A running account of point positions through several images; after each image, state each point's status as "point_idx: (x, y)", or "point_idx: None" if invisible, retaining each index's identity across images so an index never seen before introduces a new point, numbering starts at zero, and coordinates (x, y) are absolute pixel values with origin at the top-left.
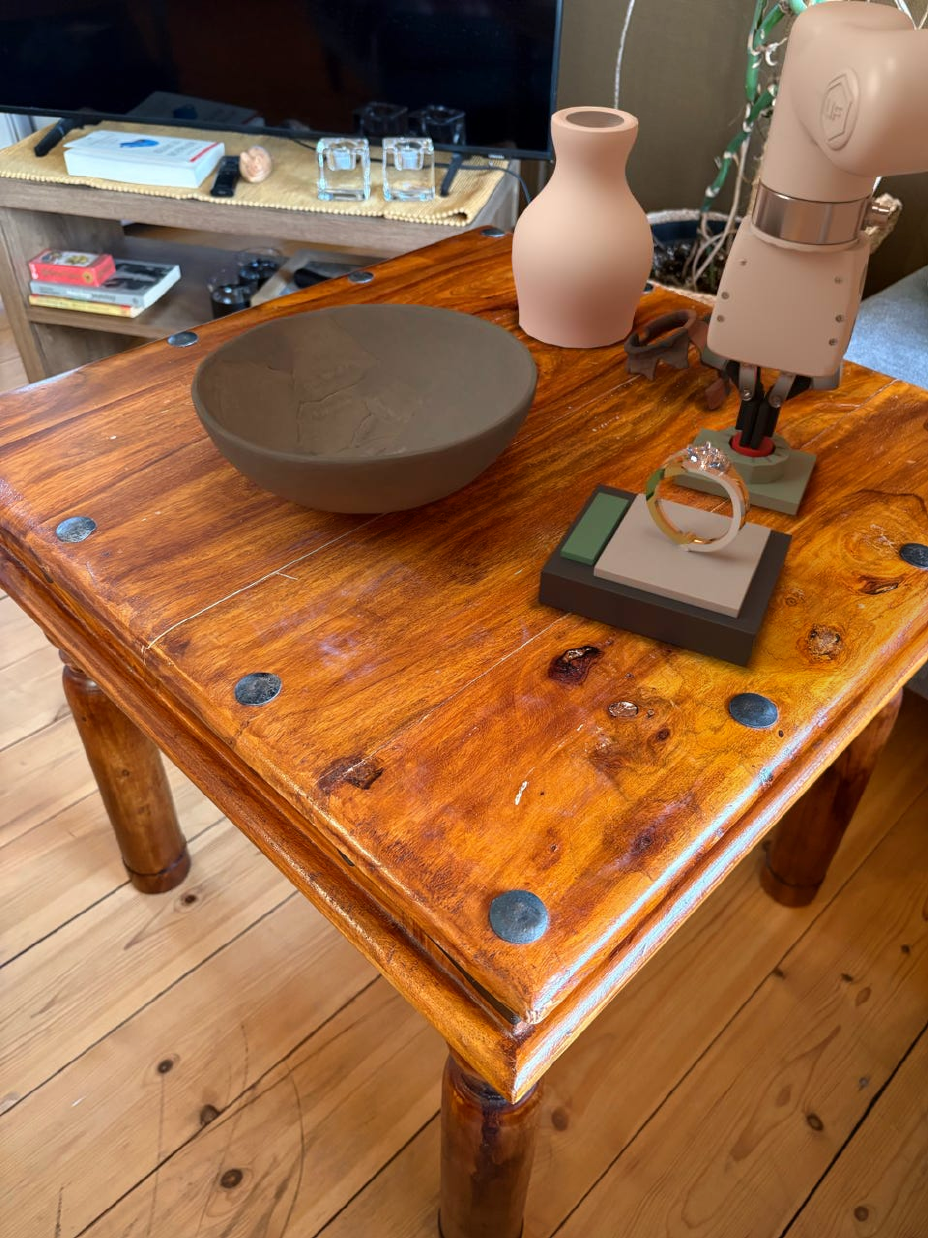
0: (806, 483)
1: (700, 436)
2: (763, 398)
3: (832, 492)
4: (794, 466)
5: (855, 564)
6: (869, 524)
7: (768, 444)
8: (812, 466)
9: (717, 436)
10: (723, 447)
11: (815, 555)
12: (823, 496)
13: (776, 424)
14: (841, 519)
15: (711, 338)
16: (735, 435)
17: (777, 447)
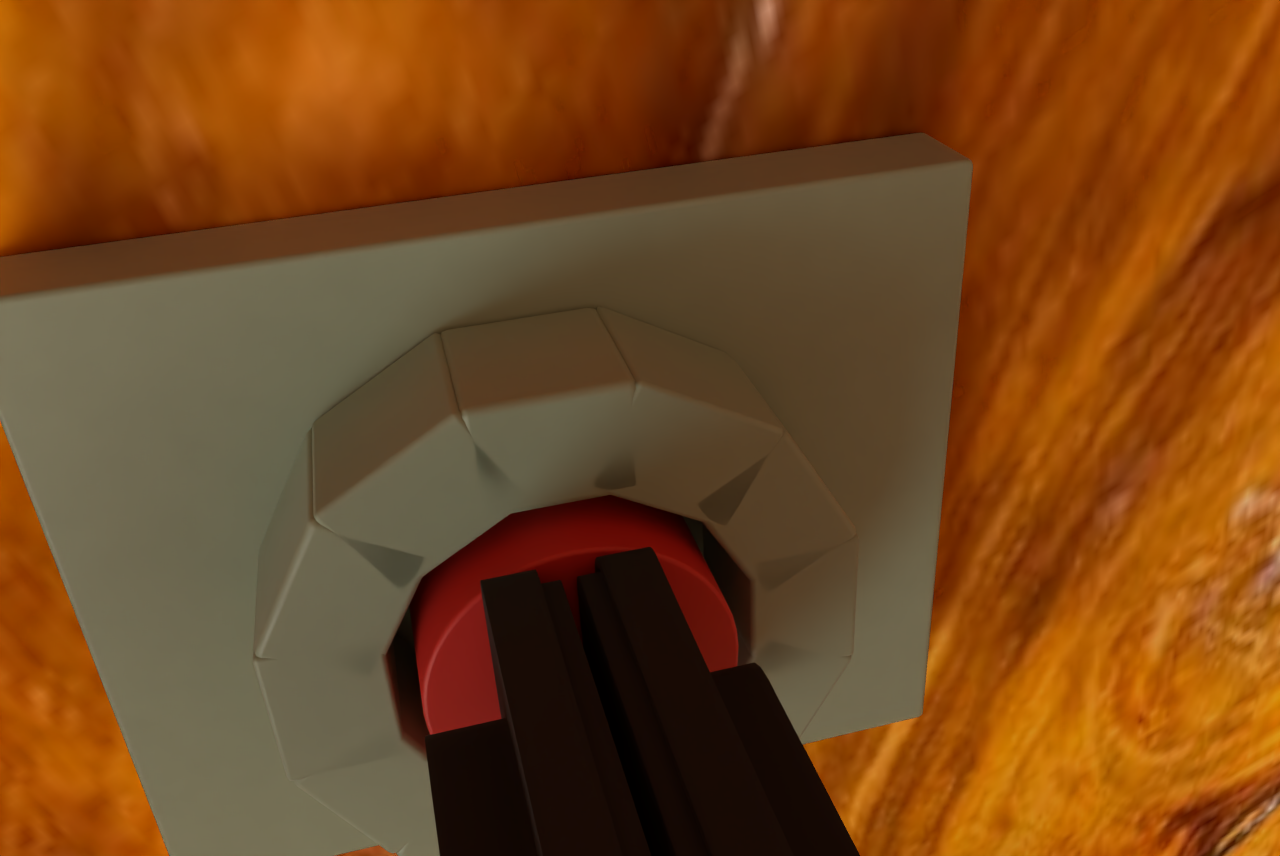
0: (939, 523)
1: (46, 445)
2: (637, 814)
3: (1054, 346)
4: (844, 401)
5: (1154, 776)
6: (1231, 503)
7: (706, 651)
8: (957, 333)
9: (285, 718)
10: (401, 806)
11: (1002, 824)
12: (1007, 414)
13: (770, 688)
14: (1103, 546)
15: None
16: (431, 704)
17: (762, 583)
